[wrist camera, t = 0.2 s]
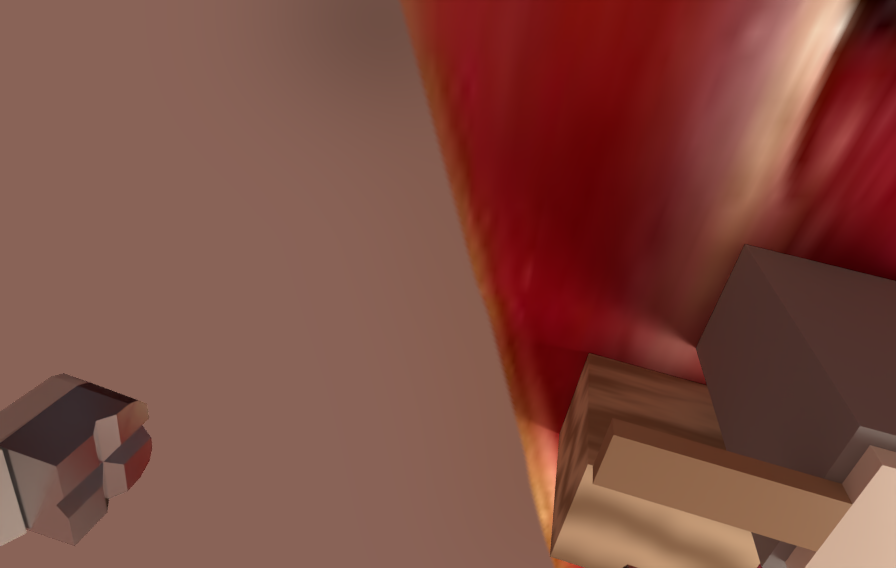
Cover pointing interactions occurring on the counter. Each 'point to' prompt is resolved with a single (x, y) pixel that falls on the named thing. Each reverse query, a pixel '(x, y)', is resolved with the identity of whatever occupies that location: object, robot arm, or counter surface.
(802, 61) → the counter surface
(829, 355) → the carton
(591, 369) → the box
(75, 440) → the robot arm
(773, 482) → the lid flap
